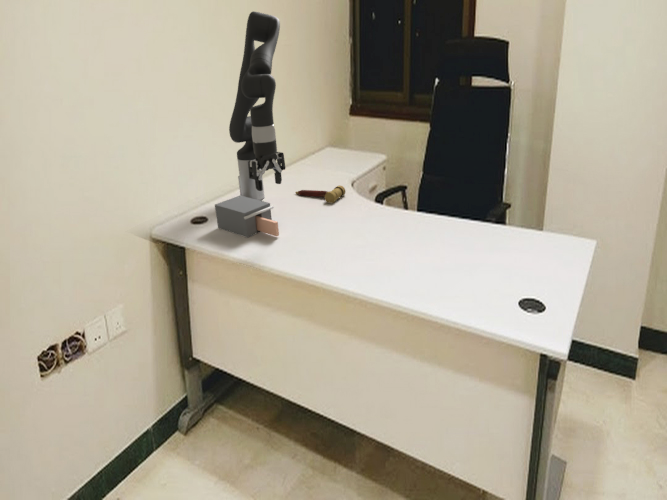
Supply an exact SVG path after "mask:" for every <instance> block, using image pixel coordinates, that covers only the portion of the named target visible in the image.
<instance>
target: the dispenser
mask: <svg viewBox="0 0 667 500" xmlns="http://www.w3.org/2000/svg"><path fill="white" fill-rule="evenodd" d="M214 209H215V215H216V216H215V217H216V222H217V229H220V230H223V231H226V232H228V233H233V234H235V235H238V236H242V237H245V238H250V237H252V236H254V235H257V234H259V233H262V232H261V231H257V229H256V220H255V215H256V216H259V217H263V218H266V219H270V220H273V219H272V212H271V211H272V210H273V209H274V205H271V203H270V202H267V201H264V200H256V199H252V198H248V197H245V196H241V195H237V196H234V197H232V198H229V199H226V200H224V201H222V202H218V203H216V204H214Z"/></svg>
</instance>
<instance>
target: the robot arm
mask: <svg viewBox="0 0 667 500" xmlns="http://www.w3.org/2000/svg"><path fill="white" fill-rule="evenodd" d="M280 28H281V21H280V19H279V18H278V17H277V16H275V15H271V14H268V13H265V12H264V13H263V12H259V11H253V10H252V11H251V12H250V13H249V14H248V18H247V23H246V28H245V29H246V31H245V37H244V38H245V39H244V49H243V55H242V60H241V61H242V62H241V67H240V72H239V77H238V83H237V90H236V91H237V92H236V98H235V102H234V106H233V110H232V114H231V118H230V121H229V127H228V130H229V137H230V139H231V140H232V141H233V142H234V143H235V144H238V143H239V144H240V143H244V144H243V146H242V147H241V148H239V149H237V151H236V157H237V159H236V161H237V167H238V176H237V179H238V185H239V188H238V189H239V193H240V195H241V196H245V197H248V198H252V199H256V200H260V201H262V200H263V199H265V188H264V178H263V176H264V175H265V173H266V172H267V171H269V170H272V171H274V181H275V184H277V185H281V184H282V180H283V179H282V173H283V171H285V170H286V162H285V153H284V152H281V151H278V147H277V135H276V129H275V125H274V124H275V123H274V113H273V108H274V107H273V106H274V99H275V93H276V87H277V83H276V79H275V78H274V76H273V75H272V70H273V69H272V67H273V58H274V55H275V52H276V49H277V44H278V39H279V36H280ZM255 41H256V42H258V43H259V42H260V43H262V44H261V45H259V46H258V47H256V45H255ZM263 98H264V102H263V103H261V104H258V105H256V104H257V102H258V101H259V99H263ZM249 114H250V115H249ZM240 195H239V196H240Z"/></svg>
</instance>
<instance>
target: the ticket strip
mask: <svg viewBox="0 0 667 500" xmlns="http://www.w3.org/2000/svg"><path fill="white" fill-rule="evenodd" d="M255 220H256V229H257V231H261V232H260V233H264V234H267V235H270V236H274V237H279V236H280V231H279V222H278V221H276V220H273V219H272V220H270V219H266V218H263V217H259V216H256V215H255Z"/></svg>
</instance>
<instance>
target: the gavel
mask: <svg viewBox="0 0 667 500" xmlns="http://www.w3.org/2000/svg"><path fill="white" fill-rule="evenodd" d="M295 194H296V195H298V196H301V197H313V198H314V197H316V198H317V197H318V198H324V200H325V202H326V203H329V204H333V203H335V202H336V201H337V200H338V199H340V198H341V197H343V196H345V195H346V189H345V187H344V186H343V185H337V186H335V187H334V188H333V189H332V190H331V191H328V190H314V189H313V190H312V189H311V190H309V189H301V190H298V191H295Z"/></svg>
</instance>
